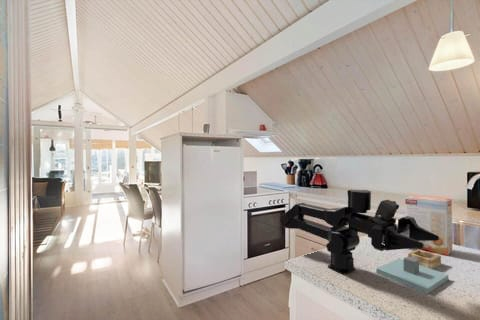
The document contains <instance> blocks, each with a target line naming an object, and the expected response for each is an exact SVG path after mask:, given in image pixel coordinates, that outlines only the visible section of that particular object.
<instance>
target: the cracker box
mask: <svg viewBox="0 0 480 320" xmlns="http://www.w3.org/2000/svg"><path fill="white" fill-rule="evenodd" d="M404 203H405V217H406V216H409V217H414V219H415V220H416V223H417V225H418V226H419V227H421V228H423V229H425V230H427V231H429V232H431V233H433V234H435V235H437V236H439V240H438V241H419V242H421V243H423V244H424V247H423V248H419V250H423V251H425V250H426V251H427V252H431V253H435V254H440V255H444V256H449V255H450V254H451V253H453V211H452V210H453V209H452V208H453V207H452V206H453V205H452V204H453V203H452V199H449V198H440V197H434V196H433V197H431V196H421V195H411V194H410V195H407V196H405V201H404Z"/></svg>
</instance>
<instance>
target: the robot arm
mask: <svg viewBox="0 0 480 320" xmlns="http://www.w3.org/2000/svg"><path fill="white" fill-rule="evenodd" d="M371 208H372V191H371V190H368V189H348V190H347V206H344V207H338V208H337V207H336V208H327V207H323V206H318V205H317V206H316V205H312V204H308V203H305V202H299V203H295V204H294V205H293V206H292V207H291V208H290V209H288V210H287V211H286V212H284V213H283V214H281V215H280V224H281V225H282V227H283V228H284V229H290V230H292V229H295V230H296V229H297V230H298V229H299V230H301V231H303V232H306V233H307V234H311V235H314V236H316V237H319V238H321V239H324V240H327V241H328V242H327V244H326V245H325V246H326V249H327V252H329V253H330V264H328V265H327V268H329V269H331V270H333V271H335V272H337V273H340V274H342V275H347V274H350V273H351V272H353V271H356V267H355V266H354V259H355V258H354V257H353V252H352V251H354V250H356V247H358V246H359V244H360V242H361V241H360V240H361V239H360V236H359V233H361V234H364V235H367V237H368V238H370V240H371V242H370V244H371V246H372V247H373V248H374V249H375V250H378V251H380V252H383V251H397V250H411V249H414V250H415V249H420V248H423V247H424V244H423V243H421V242H419V241H438V240H439V236H437V235H435V234H433V233H431V232H429V231H427V230H425V229H423V228H421V227H419V226H418V225H417V223H416V220H415V219H414V217H409V216H406V215H405V216H404V217H403V216H402V217H400V218H399V219H398V220H397V218H396V217H395V215H396V213H397V211H398V210H399V208H400V204H397V202H396V201H395V200H391V199H385V200H381V201H380V202H379V204H378V206H377V208H376V211H375V215H374V216H371V215H369V214H368V215H367V213H368V211H371V210H372V209H371ZM305 216H307V217H309V218H310V217H311V218H315V219H318V220H322V221H324V222H325V223H326V224H327V225H324V224H322V223H319V222H316V221H313V220H310V219H306V218H305ZM393 217H394V218H393ZM396 220H397V221H398V227H397V226H396V224H395V223H396ZM328 225H329V226H328ZM330 226H331V227H330Z"/></svg>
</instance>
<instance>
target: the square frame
mask: <svg viewBox="0 0 480 320" xmlns="http://www.w3.org/2000/svg"><path fill="white" fill-rule="evenodd" d="M407 255H408V256H409V257H412V258H416V259H419V265H420V266H423V267H426V268H429V269H432V270H435V268H437V267H439V266H440V265H441V264H442V255H441V254H440V255H439V254H437V253H434V252H430V251H427V250H426V251H425V250H423V249H420V248H416V249H414V250H413V251H412V250H411V252H409V253H407ZM408 256H407V257H408Z"/></svg>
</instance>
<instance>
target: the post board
mask: <svg viewBox="0 0 480 320" xmlns="http://www.w3.org/2000/svg"><path fill="white" fill-rule="evenodd" d="M376 274H378V275H381V276H383V277H385V278H388V279H390V280H393V281H395V282H398V283H400V284H403V285H405V286H407V287H410V288H411V289H413V290H414V289H415V290H417V291H420V292H422V293H424V294H427V295H428V294H430V293H431V292H433V291H434V290H436V289H437V288H439V287H440V286H441V285H443V284H445V282H447V281H449V274H447V273H444V272H442V271H438V270H435V269H429V268H426V267H423V266H420V265H419V259H416V258H412V257H409V256H406V257H403V259H402V258H397V259H394V260H392V261H389V262H388V263H386V264H383V265H381V266H378V267H376Z"/></svg>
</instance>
